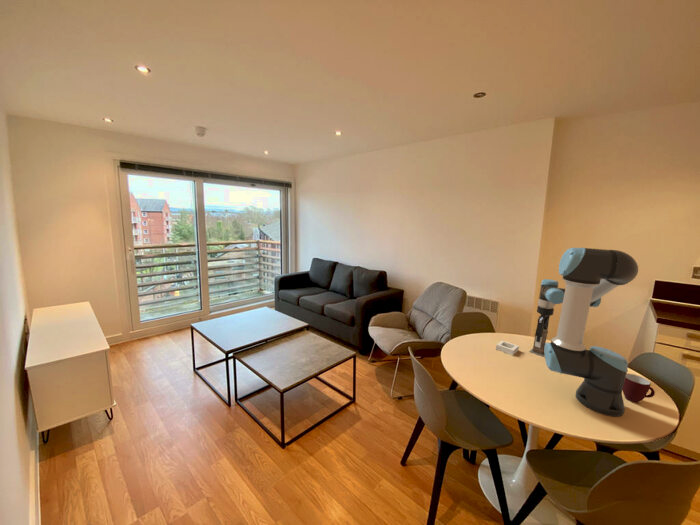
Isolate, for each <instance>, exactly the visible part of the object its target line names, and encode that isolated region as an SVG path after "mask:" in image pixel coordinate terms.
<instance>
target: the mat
mask: <svg viewBox="0 0 700 525" xmlns="http://www.w3.org/2000/svg"><path fill="white" fill-rule="evenodd" d="M528 352H529V353H531V354H534V355H538V356H540V357H544V358H545V354H544V353H543V354H542V355H541V354H538V353H535V352H533V348H531V349H530V350H529V351H528Z"/></svg>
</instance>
